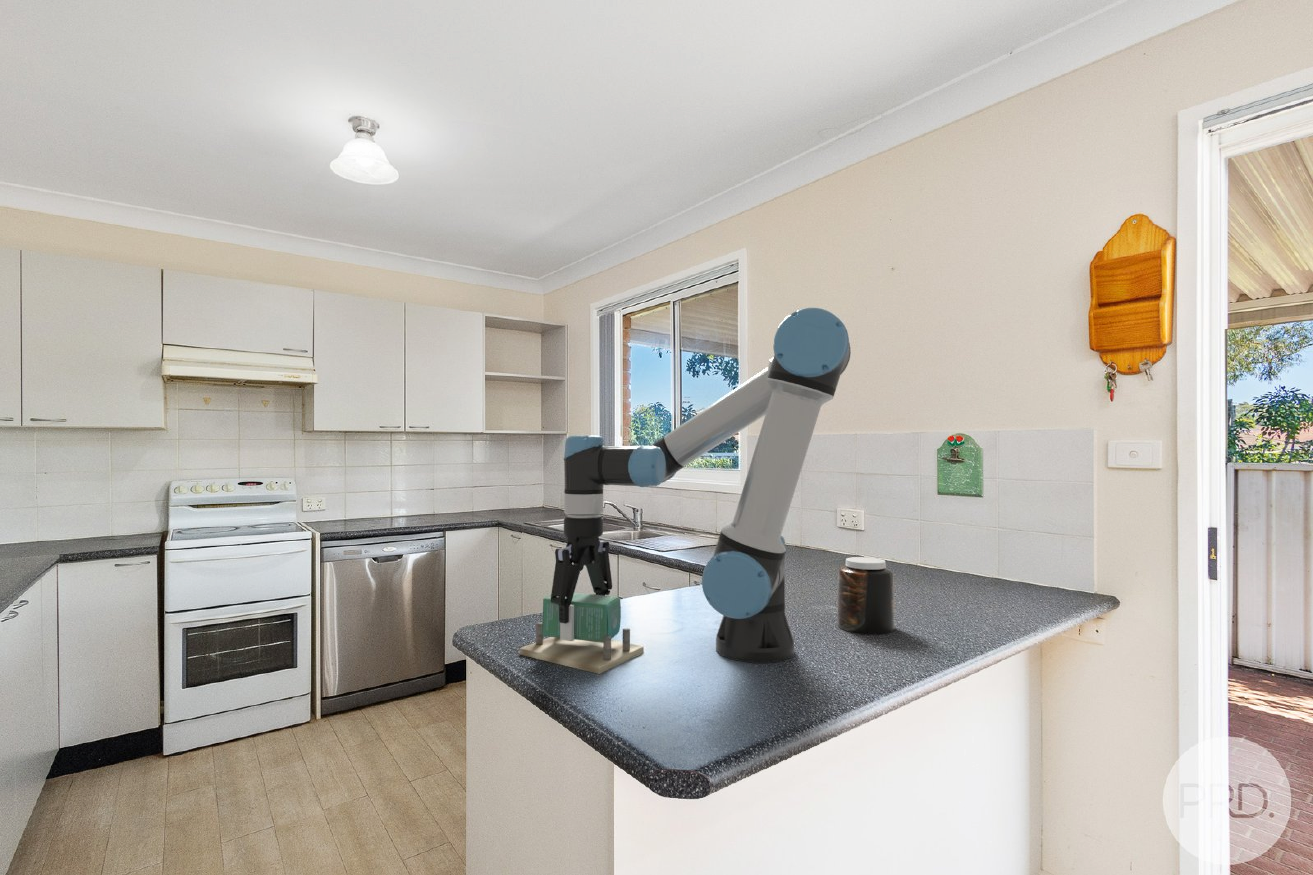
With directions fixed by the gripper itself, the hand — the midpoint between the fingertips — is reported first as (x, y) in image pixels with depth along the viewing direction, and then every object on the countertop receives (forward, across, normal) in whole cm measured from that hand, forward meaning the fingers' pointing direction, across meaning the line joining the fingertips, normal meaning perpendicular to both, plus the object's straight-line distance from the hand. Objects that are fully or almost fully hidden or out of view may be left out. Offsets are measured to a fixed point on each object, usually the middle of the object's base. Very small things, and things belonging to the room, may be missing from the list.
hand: (582, 633), depth 122 cm
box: (+1, 0, 0) cm, 1 cm away
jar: (+4, -49, +41) cm, 64 cm away
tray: (+4, 0, 0) cm, 4 cm away
